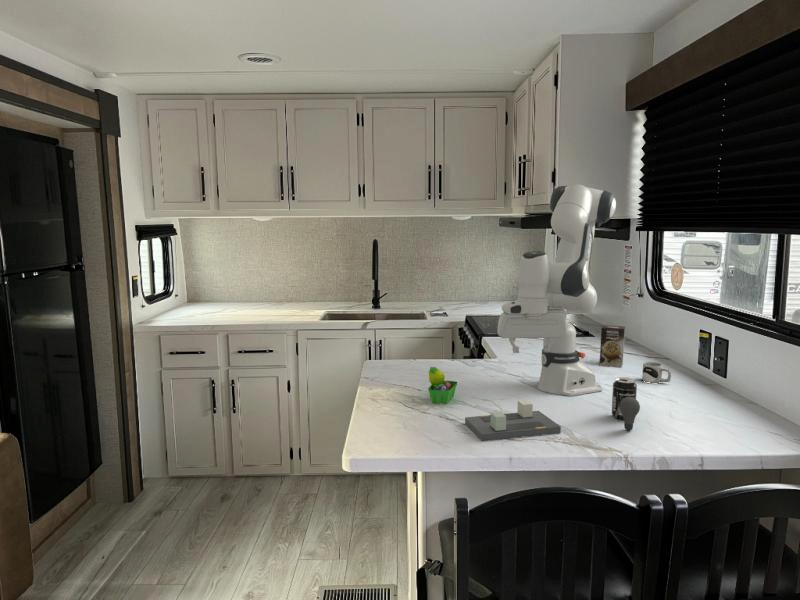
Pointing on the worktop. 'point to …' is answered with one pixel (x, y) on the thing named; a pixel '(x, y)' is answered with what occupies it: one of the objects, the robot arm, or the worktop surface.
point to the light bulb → (629, 411)
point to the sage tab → (498, 421)
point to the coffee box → (612, 346)
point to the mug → (654, 372)
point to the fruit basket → (440, 387)
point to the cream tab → (525, 408)
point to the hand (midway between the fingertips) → (531, 352)
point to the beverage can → (622, 394)
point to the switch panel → (512, 426)
